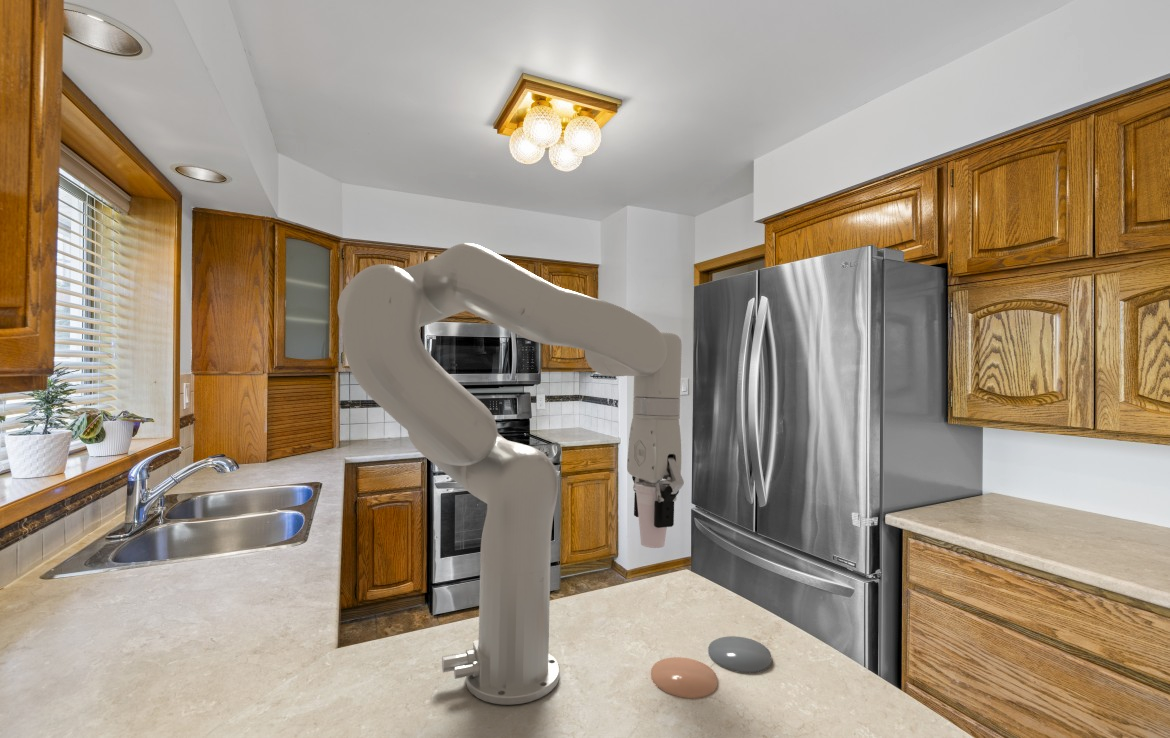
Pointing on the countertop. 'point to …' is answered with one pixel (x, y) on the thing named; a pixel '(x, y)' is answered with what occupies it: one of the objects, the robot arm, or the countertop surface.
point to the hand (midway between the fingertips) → (653, 520)
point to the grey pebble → (740, 654)
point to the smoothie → (648, 515)
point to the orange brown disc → (684, 677)
